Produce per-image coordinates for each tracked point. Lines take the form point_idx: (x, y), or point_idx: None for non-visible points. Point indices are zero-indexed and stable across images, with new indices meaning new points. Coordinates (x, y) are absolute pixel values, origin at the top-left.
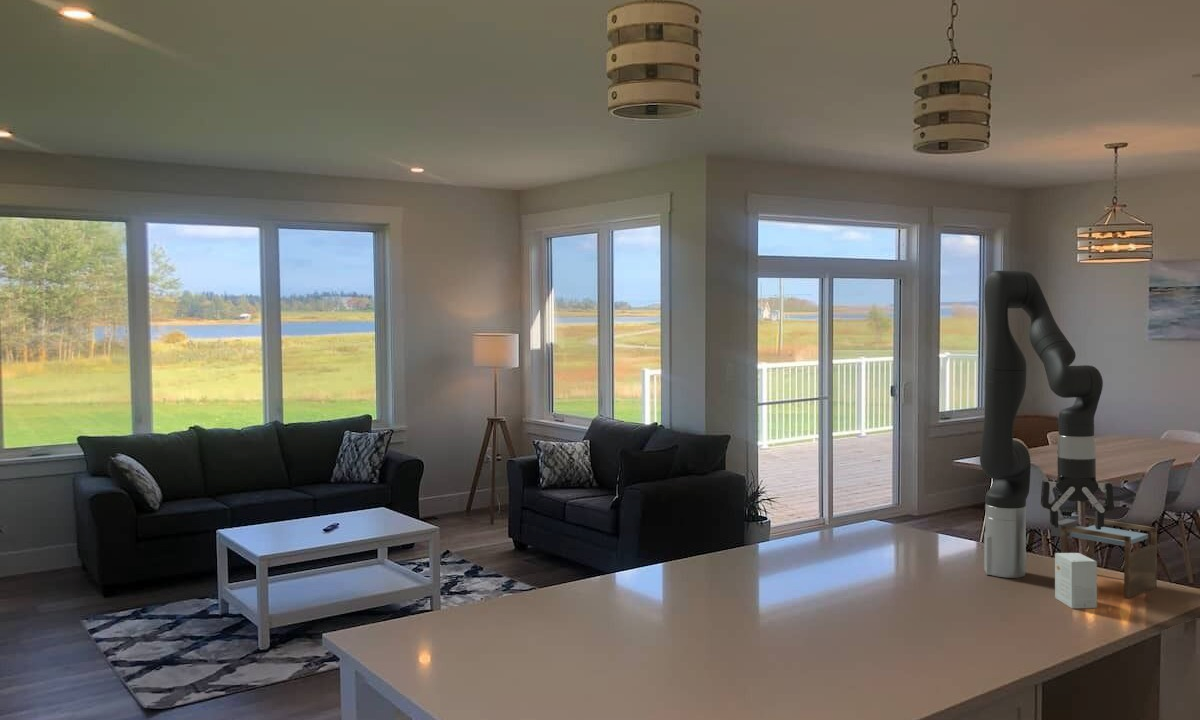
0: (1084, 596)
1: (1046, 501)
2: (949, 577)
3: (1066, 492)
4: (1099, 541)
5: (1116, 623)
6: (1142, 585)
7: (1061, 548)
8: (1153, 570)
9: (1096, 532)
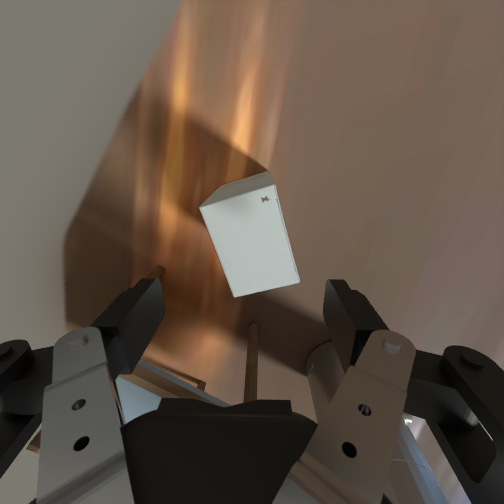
0: (242, 180)
1: (492, 392)
2: (448, 325)
3: (361, 500)
4: (171, 375)
5: (196, 79)
6: None
7: (256, 379)
8: None
9: (170, 391)
